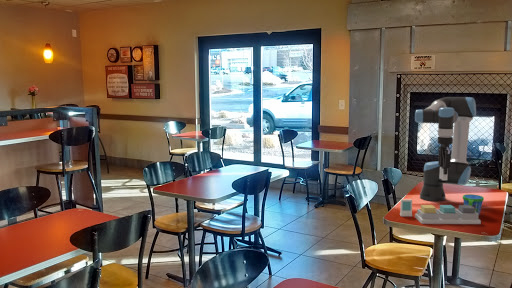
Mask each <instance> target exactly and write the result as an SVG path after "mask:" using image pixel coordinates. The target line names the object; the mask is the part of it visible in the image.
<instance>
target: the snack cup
mask: <svg viewBox="0 0 512 288" xmlns="http://www.w3.org/2000/svg"><path fill="white" fill-rule="evenodd" d="M484 198H485V197H484V196H482V195H479V194H463V195H462V199H463V200H462V201H463V205H471V206H472V207H474V208H475V212H477V213H478V214H479V215H481V209H482V207H483V206H482V205H483V202H484V200H485V199H484Z"/></svg>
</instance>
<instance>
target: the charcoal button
mask: <svg viewBox="0 0 512 288" xmlns="http://www.w3.org/2000/svg"><path fill="white" fill-rule="evenodd" d="M458 209H459V211H460V212H462V213H475V208H474V207H472V206H471V205H464V204H459V205H458Z"/></svg>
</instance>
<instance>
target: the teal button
mask: <svg viewBox="0 0 512 288" xmlns="http://www.w3.org/2000/svg"><path fill="white" fill-rule="evenodd" d="M439 209H440V211H441V212H442V213H455V209H456V207H455V206H454V205H452V204H439Z"/></svg>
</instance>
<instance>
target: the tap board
mask: <svg viewBox="0 0 512 288" xmlns="http://www.w3.org/2000/svg"><path fill="white" fill-rule="evenodd" d="M479 216H480V214H478V213H477V212H475V213H462V212H460V211H459V208H455V213H442V212H441V211H440V208H436V213H423V212H422V211H421V208H417V210H416V213H414V218H415V219H416V220H417V221H418V222H419V223H420V224H422V225H423V224H424V225H425V224H426V225H429V224H430V225H431V224H432V225H481V224H482V223H481V222H482V220H481V219H480V218H479Z"/></svg>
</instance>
